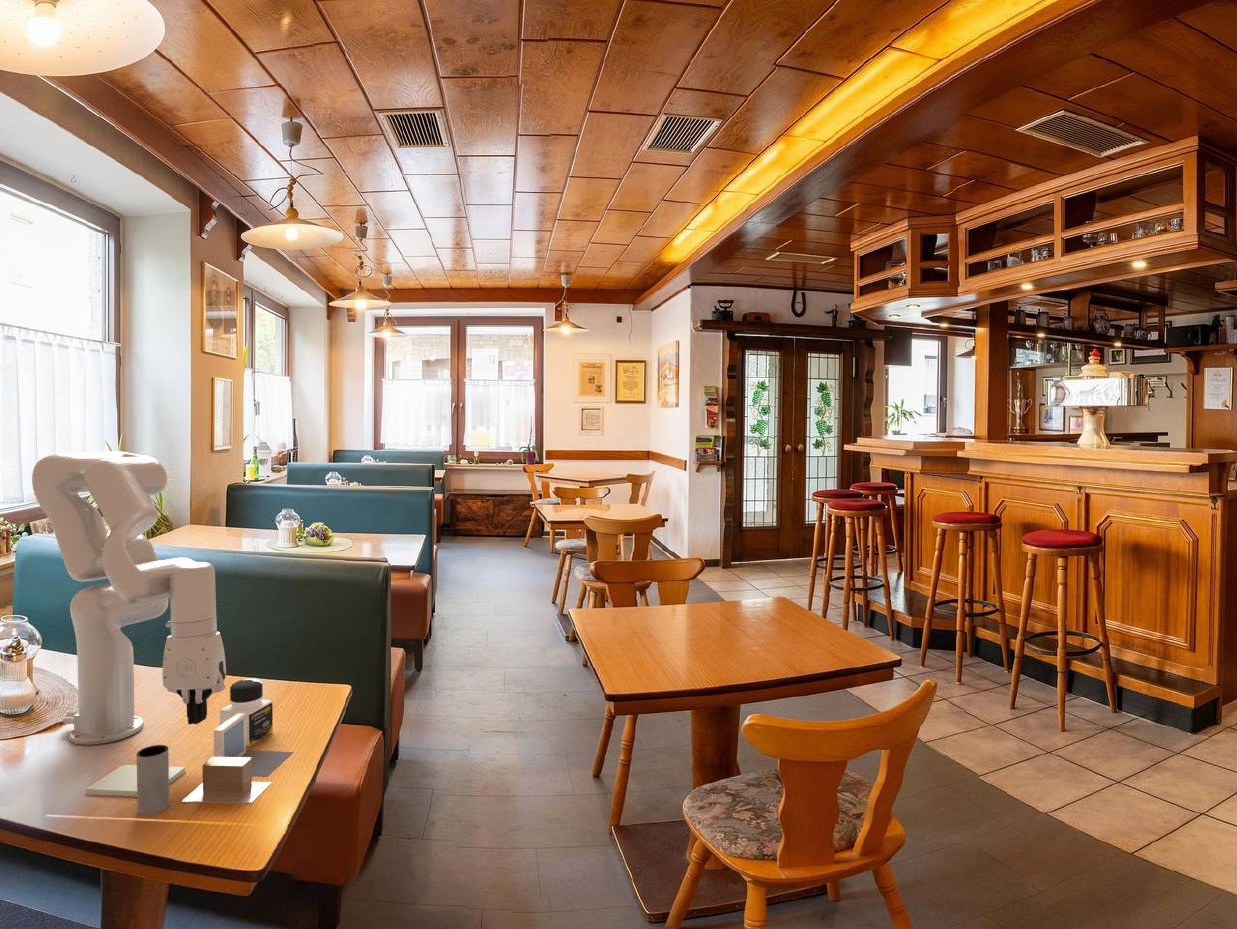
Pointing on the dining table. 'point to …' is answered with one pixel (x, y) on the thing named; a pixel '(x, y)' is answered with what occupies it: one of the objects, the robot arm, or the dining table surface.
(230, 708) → the medicine bottle
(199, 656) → the robot arm
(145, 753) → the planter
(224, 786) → the float
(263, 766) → the mat
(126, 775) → the board
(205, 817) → the dining table surface
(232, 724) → the tile
